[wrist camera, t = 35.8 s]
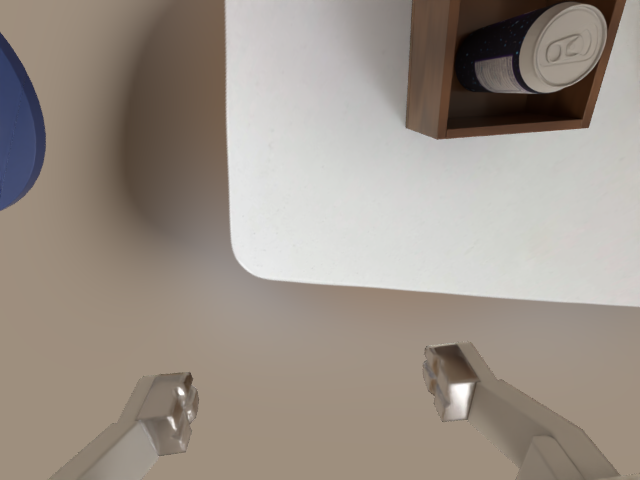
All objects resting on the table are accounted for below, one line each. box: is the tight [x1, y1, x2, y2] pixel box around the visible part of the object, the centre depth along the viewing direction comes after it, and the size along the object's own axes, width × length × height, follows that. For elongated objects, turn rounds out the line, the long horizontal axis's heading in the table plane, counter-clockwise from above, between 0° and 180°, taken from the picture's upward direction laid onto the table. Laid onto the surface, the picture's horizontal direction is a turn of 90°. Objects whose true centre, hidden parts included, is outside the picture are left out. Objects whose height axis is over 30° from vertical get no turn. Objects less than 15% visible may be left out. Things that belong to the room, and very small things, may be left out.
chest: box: [406, 0, 626, 139], centre depth 28 cm, size 14×14×9 cm
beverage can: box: [455, 1, 607, 94], centre depth 27 cm, size 6×6×12 cm
